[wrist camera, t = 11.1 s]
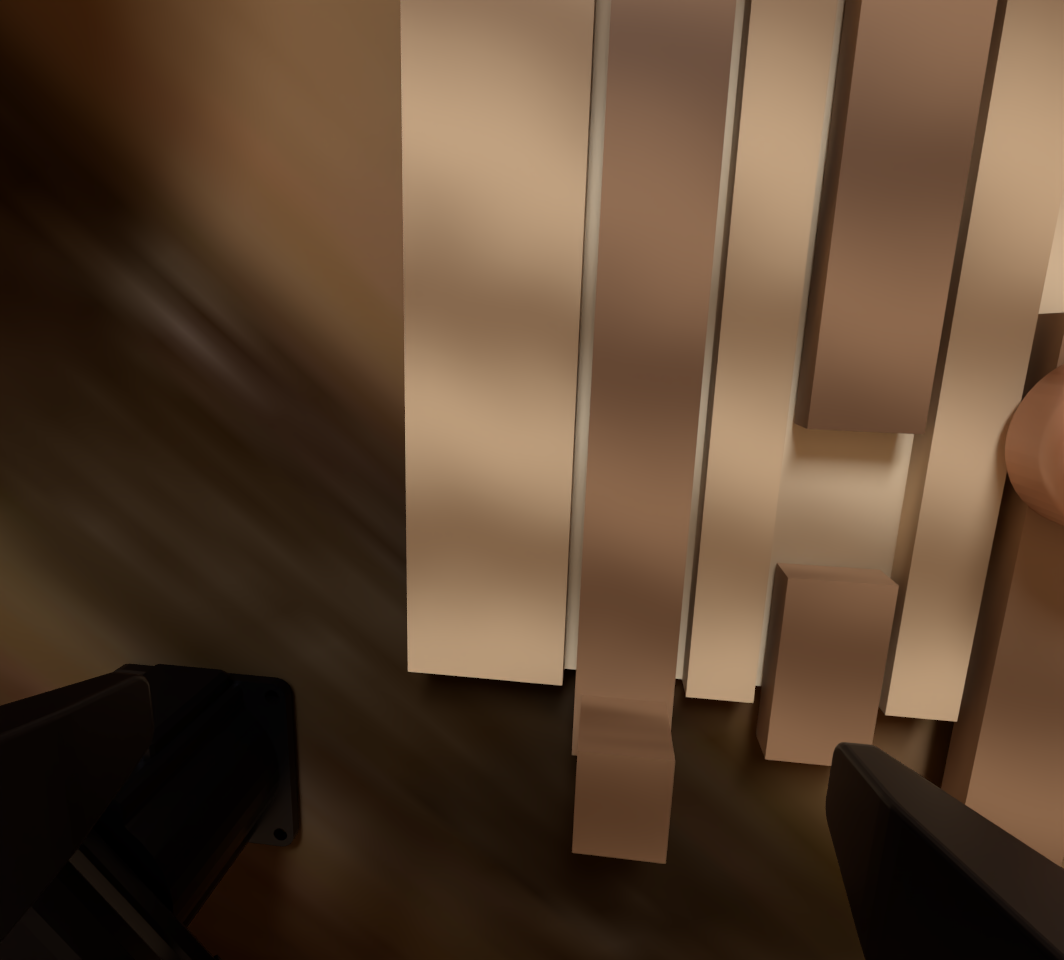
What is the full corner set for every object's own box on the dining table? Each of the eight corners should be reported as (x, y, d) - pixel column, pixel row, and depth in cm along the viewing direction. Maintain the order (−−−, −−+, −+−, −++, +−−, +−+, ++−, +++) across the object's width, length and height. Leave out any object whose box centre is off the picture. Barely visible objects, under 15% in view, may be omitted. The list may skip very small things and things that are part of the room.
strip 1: (661, 768, 20) (673, 864, 16) (572, 759, 20) (564, 851, 17) (732, -43, 15) (772, -164, 12) (614, -40, 16) (616, -156, 12)
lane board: (1207, 754, 19) (1290, 812, 17) (426, 681, 22) (404, 722, 19) (1459, -85, 14) (1621, -166, 12) (423, -51, 17) (393, -113, 15)
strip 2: (988, 1020, 21) (1071, 1169, 17) (897, 1008, 21) (958, 1151, 17) (1157, 317, 16) (1323, 311, 12) (1035, 313, 16) (1161, 306, 12)
